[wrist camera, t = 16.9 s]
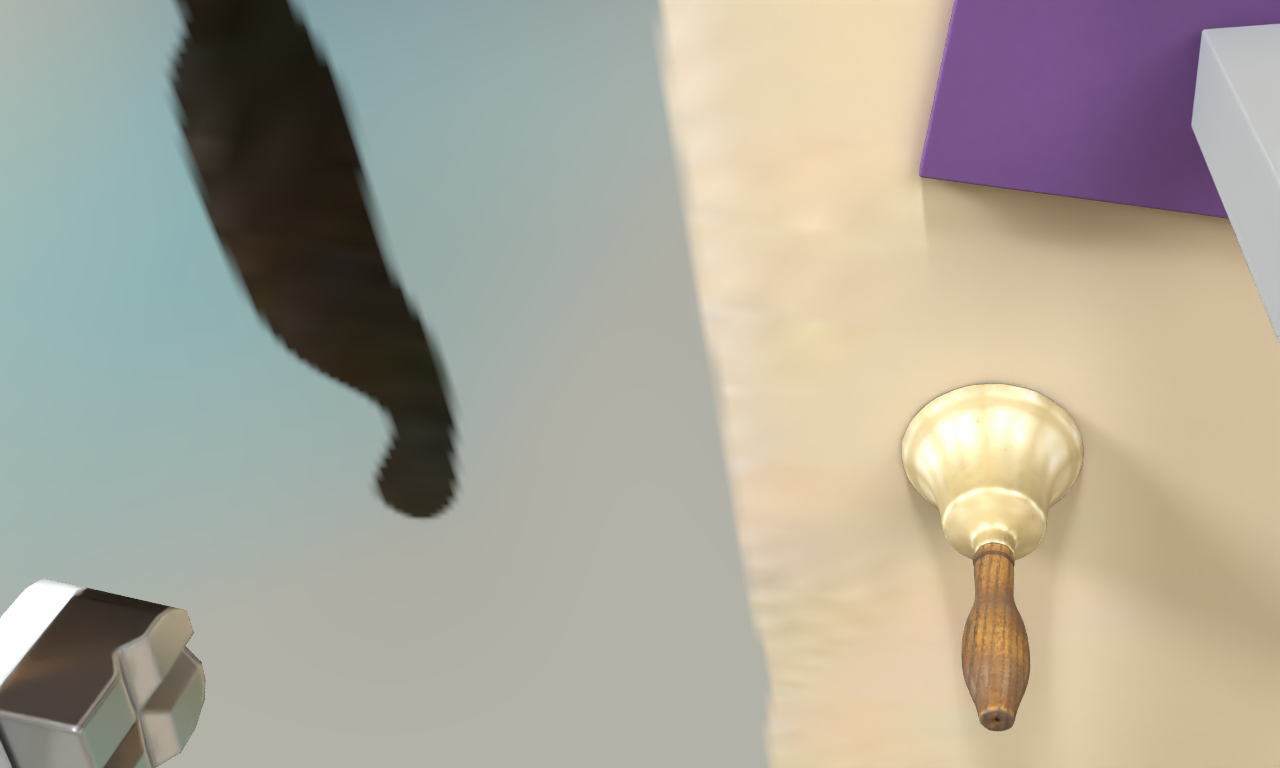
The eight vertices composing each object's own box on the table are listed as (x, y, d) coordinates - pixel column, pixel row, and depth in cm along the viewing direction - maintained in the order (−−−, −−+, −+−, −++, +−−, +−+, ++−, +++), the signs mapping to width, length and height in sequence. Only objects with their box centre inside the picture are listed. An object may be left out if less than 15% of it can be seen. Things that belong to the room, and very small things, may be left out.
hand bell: (963, 541, 60) (969, 813, 47) (867, 431, 57) (846, 689, 45) (1117, 474, 56) (1168, 753, 43) (1021, 352, 53) (1045, 612, 40)
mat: (983, -140, 42) (984, -135, 41) (1665, -73, 39) (1676, -66, 38) (919, 168, 49) (918, 177, 48) (1490, 245, 46) (1498, 255, 46)
